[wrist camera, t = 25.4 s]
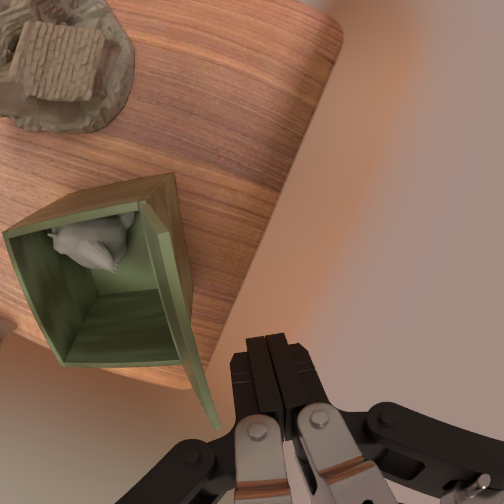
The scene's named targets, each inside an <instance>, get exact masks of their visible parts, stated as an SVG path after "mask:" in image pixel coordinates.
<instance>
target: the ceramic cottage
mask: <svg viewBox="0 0 504 504" xmlns="http://www.w3.org/2000/svg"><path fill="white" fill-rule="evenodd" d="M133 70H134V47H133V46H132V44H131V42H130V40H129V38H128V37H127V35H126V33H125V32H124V30H123V29H122V28H121V26H120V24H119V23H118V21H117V20H116V18H115V15H114V14H112V12H111V10H110V9H109V7H108V4H107V3H106V2H105V0H0V117H1V118H2V117H8V118H9V119H11V120H12V122H13V123H15V124H16V126H17V128H21V129H24V130H25V131H47V132H48V131H52V132H54V133H58V134H62V133H69V134H86V133H92V132H94V131H96V130H98V129H101V128H104V126H107V124H108V123H109V122H110V121H111V120H113V119H114V118H115V117H116V115H117V114H118V113H119V112H120V110H121V109H122V108H123V107H124V105H125V103H126V101H127V99H128V94H129V93H130V88H131V84H132V81H133V75H134V71H133Z"/></svg>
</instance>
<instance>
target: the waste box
mask: <svg viewBox="0 0 504 504" xmlns="http://www.w3.org/2000/svg"><path fill="white" fill-rule="evenodd" d="M147 203H148V204H149V205H150V206H151V208H152V209H153V210H154V212H155V213H156V214H157V216H158V217H159V218H160V220H161V221H162V222H163V224H164V225H165V226H166V228H167V229H168V230H169V232H170V236H171V241H172V246H173V251H174V256H175V261H176V265H177V270H178V275H179V279H180V283H181V288H182V292H183V296H184V301H185V305H186V309H187V313H188V317H189V321H190V325H191V314H192V301H193V290H194V284H193V280H192V275H191V270H190V264H189V259H188V254H187V249H186V243H185V238H184V232H183V226H182V220H181V214H180V208H179V202H178V195H177V188H176V182H175V175H174V172H172V173H166V174H160V175H154V176H149V177H143V178H138V179H133V180H128V181H123V182H118V183H113V184H109V185H104V186H100V187H95V188H91V189H87V190H83V191H79V192H75V193H71V194H68V195H66V196H64V197H62V198H60V199H58V200H56V201H55V202H53V203H51V204H49V205H47V206H45V207H44V208H42V209H40V210H38V211H37V212H35V213H33V214H31V215H30V216H28V217H26V218H25V219H23V220H21V221H20V222H18V223H16V224H15V225H13V226H12V227H10V228H8V229H7V230H5V231H4V232H2V234H3V238H4V241H5V244H6V247H7V250H8V253H9V256H10V259H11V262H12V265H13V268H14V270H15V273H16V276H17V278H18V281H19V283H20V286H21V288H22V291H23V293H24V295H25V298H26V300H27V302H28V304H29V307H30V309H31V311H32V313H33V315H34V317H35V319H36V321H37V323H38V325H39V327H40V329H41V331H42V333H43V335H44V337H45V339H46V341H47V342H48V344H49V346H50V348H51V350H52V351H53V353H54V355H55V356H56V358H57V359H58V361H59V363H60V365H61V366H62V367H85V368H86V367H87V368H123V367H151V366H168V365H181V364H183V363H182V360H181V357H180V354H179V351H178V348H177V345H176V342H175V339H174V336H173V333H172V330H171V326H170V323H169V320H168V316H167V313H166V310H165V306H164V303H163V299H162V295H161V292H160V288H159V284H158V281H157V277H156V273H155V269H154V265H153V261H152V257H151V252H150V248H149V244H148V239H147V235H146V230H145V225H144V220H143V215H142V210H141V205H142V204H147ZM134 211H135V221H134V222H133V224H132V225H131V226H130V227H129V228H128V229H127V232H126V240H125V241H126V245H127V249H126V252H125V254H124V255H123V257H122V258H121V260H120V261H119V263H118V264H119V265H116V268H117V269H118V270H119V271H117V270H115V269H113V271H114V273H115V274H114V273H112V272H111V271H108V270H105V269H91V268H87V267H84V266H82V265H80V264H78V263H77V262H76V261H74V260H73V259H71V258H70V257H69V256H68V255H66V254H60V253H59V252H58V251H57V250H55V249H54V248H53V245H54V242H53V237H50V236H48V233H52V229H51V228H54V227H58V226H63V225H67V224H72V223H77V222H82V221H87V220H92V219H97V218H102V217H107V216H112V215H118V214H123V213H129V212H134Z"/></svg>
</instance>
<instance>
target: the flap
mask: <svg viewBox="0 0 504 504" xmlns="http://www.w3.org/2000/svg"><path fill="white" fill-rule="evenodd" d="M141 210H142V215H143V220H144V225H145V230H146V235H147V239H148V244H149V248H150V252H151V257H152V261H153V265H154V269H155V273H156V277H157V281H158V284H159V288H160V292H161V295H162V299H163V303H164V306H165V310H166V313H167V316H168V320H169V323H170V326H171V330H172V333H173V336H174V339H175V342H176V345H177V348H178V351H179V354H180V357H181V360H182V363H183V366H184V369H185V372H186V374H187V376H188V378H189V380H190V382H191V384H192V387H193V389H194V391H195V393H196V395H197V397H198V399H199V401H200V403H201V405H202V407H203V409H204V411H205V413H206V415H207V416H208V418H209V420H210V422H211V424H212V426H213V427H214V430H218V429H220V428H221V424H220V421H219V418H218V415H217V412H216V409H215V406H214V404H213V400H212V398H211V394H210V391H209V388H208V384H207V381H206V378H205V375H204V371H203V368H202V364H201V361H200V358H199V354H198V350H197V347H196V343H195V340H194V336H193V332H192V328H191V325H190V321H189V317H188V313H187V309H186V305H185V301H184V296H183V292H182V288H181V283H180V279H179V275H178V270H177V265H176V261H175V256H174V251H173V246H172V241H171V236H170V232H169V230H168V229H167V228H166V226H165V225H164V224H163V222H162V221H161V220H160V218H159V217H158V216H157V214H156V213H155V212H154V210H153V209H152V208H151V206H150V205H149V204H148V203H147V204H142V205H141Z"/></svg>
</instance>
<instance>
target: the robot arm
mask: <svg viewBox="0 0 504 504" xmlns="http://www.w3.org/2000/svg"><path fill="white" fill-rule="evenodd" d="M246 345H247V352H241V353H234V355H233V357H232V360H231V362H230V370H231V379H232V388H233V397H234V405H235V413H236V422H235V424H234V427H233V428H232V430H231V431H230V432H229V433H228V434H226V435H225V436H223V437H221V438H219V439H216V440H213V441H211V442H208V443H206V442H203V441H201V440H197V439H187V440H184V441H181V442H179V443H178V444H176V445H175V446H174V447H173V448H172V449H171V450H170V451H169V452H168V453H167V454H166V455H165V456H164V457H163V458H162V459H161V460H160V461H159V462H158V463H157V464H156V465H155V466H154V467H153V468H152V469H151V470H150V471H149V472H148V473H147V474H146V475H145V476H144V477H143V478H142V479H141V480H140V481H139V482H138V483H137V484H136V485H135V486H133V487H132V488H131V489H130V490H129V491H128V492H127V493H126V494H125V495H124V496H123V497H122V498H120V499H119V500H118V501H117V502H116V503H115V504H217V503H218V501H219V500H220V499H221V498H222V497H223V495H224V494H225V493H226V491H228V490H231V489H233V488H236V489H235V492H234V504H293V503H292V496H291V491H290V487H289V484H288V478H287V472H286V466H285V458H284V452H283V442H284V437H285V441H289V440H292V441H293V444H294V448H295V459H296V461H297V464H298V467H299V469H300V472H301V475H302V477H303V480H304V483H305V485H306V488H307V490H308V493H309V495H310V499H311V504H403V503H398V502H397V500H396V498H395V497H394V495H393V493H392V491H391V489H390V488H389V486H388V484H387V483H386V480H385V479H384V478H386V479H388V480H391V481H393V482H396V483H398V484H400V485H403V486H405V487H408V488H411V489H413V490H416V491H419V492H421V493H424V494H427V495H430V496H433V497H436V498H439V499H441V500H440V504H503V502H504V441H500V440H496V439H493V438H489V437H486V436H483V435H480V434H477V433H474V432H470V431H467V430H464V429H461V428H459V427H455V426H452V425H450V424H447V423H444V422H441V421H438V420H436V419H433V418H430V417H428V416H425V415H423V414H420V413H418V412H415V411H413V410H410V409H408V408H405V407H403V406H400V405H398V404H396V403H392V402H381V403H378V404H376V405H374V406H373V407H372V408H371V409H370V410H369V411H368V412H346V411H342V410H339V409H337V408H336V407H334V406H333V405H332V404H331V403H330V402H329V400H328V398H327V396H326V393H325V391H324V389H323V386H322V384H321V382H320V379H319V377H318V375H317V372H316V371H315V367H314V365H313V362H312V360H311V358H310V355H309V353H308V351H307V350H306V349H305V348H304V347H303V346H302V345H300V344H299V343H296V344H290V345H288V343H287V340H286V337H285V334H284V333H278V334H272V335H266V336H265V337H264V336H260V337H253V338H247V339H246Z"/></svg>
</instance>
